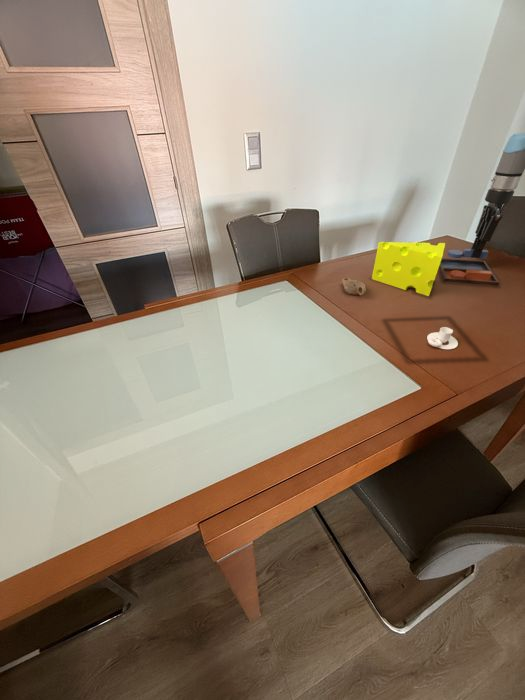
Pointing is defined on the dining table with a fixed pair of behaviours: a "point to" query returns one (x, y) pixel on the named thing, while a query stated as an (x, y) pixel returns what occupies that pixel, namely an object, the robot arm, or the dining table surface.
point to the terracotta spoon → (471, 274)
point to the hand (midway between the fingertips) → (474, 255)
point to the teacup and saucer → (442, 339)
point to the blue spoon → (465, 253)
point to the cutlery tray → (464, 265)
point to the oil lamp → (354, 286)
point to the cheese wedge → (408, 265)
